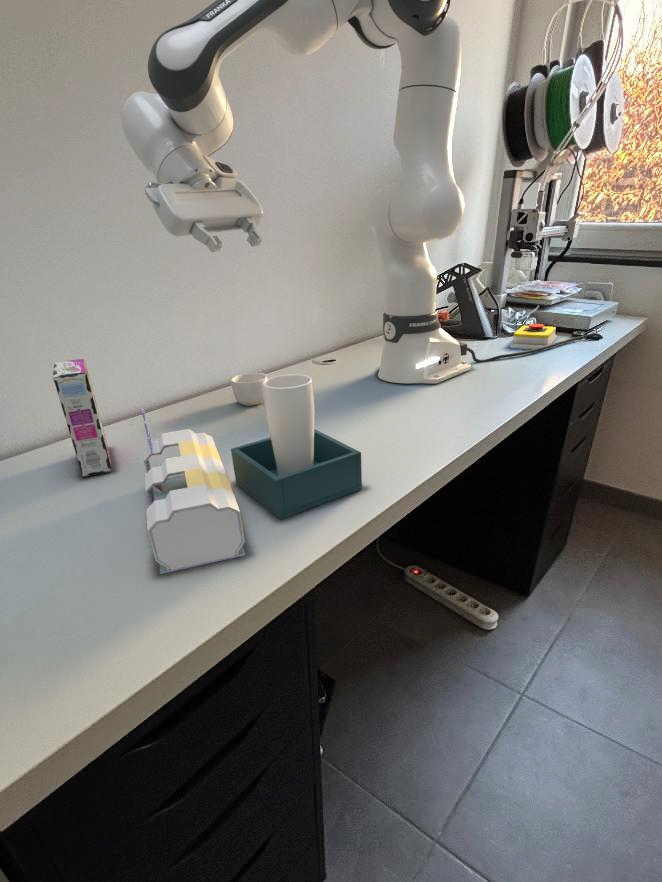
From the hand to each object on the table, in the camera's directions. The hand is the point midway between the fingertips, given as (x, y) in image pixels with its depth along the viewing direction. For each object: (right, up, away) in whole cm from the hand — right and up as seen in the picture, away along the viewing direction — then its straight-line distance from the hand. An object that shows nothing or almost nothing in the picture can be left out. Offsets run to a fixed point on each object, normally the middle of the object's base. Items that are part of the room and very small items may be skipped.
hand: (238, 246), depth 90 cm
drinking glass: (+10, -41, -12) cm, 44 cm away
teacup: (0, -21, +25) cm, 33 cm away
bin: (+10, -41, -12) cm, 44 cm away
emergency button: (+72, +1, +55) cm, 91 cm away
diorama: (-4, -46, -17) cm, 49 cm away
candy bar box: (-24, -37, +1) cm, 44 cm away
